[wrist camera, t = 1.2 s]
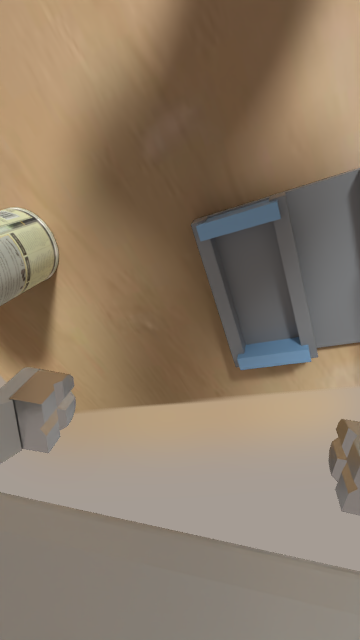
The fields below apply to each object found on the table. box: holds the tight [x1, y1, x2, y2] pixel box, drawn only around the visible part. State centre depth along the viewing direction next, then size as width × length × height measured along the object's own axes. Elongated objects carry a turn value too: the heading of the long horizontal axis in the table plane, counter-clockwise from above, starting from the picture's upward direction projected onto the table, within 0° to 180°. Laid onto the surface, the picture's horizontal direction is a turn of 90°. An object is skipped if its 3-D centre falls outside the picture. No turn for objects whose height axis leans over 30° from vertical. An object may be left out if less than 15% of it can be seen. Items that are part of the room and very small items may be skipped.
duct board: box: [191, 168, 360, 370], centre depth 34 cm, size 18×26×4 cm
